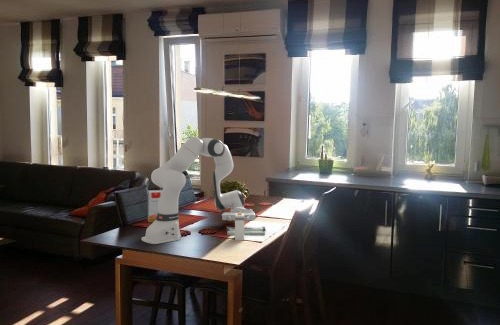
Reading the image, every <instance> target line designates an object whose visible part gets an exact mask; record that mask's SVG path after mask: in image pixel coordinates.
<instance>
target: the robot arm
mask: <svg viewBox="0 0 500 325" xmlns="http://www.w3.org/2000/svg"><path fill="white" fill-rule="evenodd" d="M198 156H205V157H209V158H210V157H211V158H213V159H214V164H215V170H214V171H212V172H213V173H212V180H213V182H212V184H213V192H214V205H215V207H216V209H217V210H219V211H224V212H223V213H222V214H221V219H222V221H234V222H235V213H238V212H241V213H244V221H245V222H248V221H255V220H256V213H255V211H253V209H251V208H245V199H244V196H243V194H242V192H241V191H240V190H237V189H236V190H233V191H228V192H226V193H221V182H222V180H224V178H226V177H228V176H229V175H230V174H231V173H232V171H233V169H234V167H235V166H234V160H233V157H232V153H231V151H230V150H229V147H228V145H227V144H225V143H223V141H221V140H220V139H217V138H210V137H200V138H199V137H198V136H191V137H189V138H188V139H187V140H186V141H185V142H184V143H183V144H182V145H181V146H180V147H179V149H178V150H177V151H176V152H175V154H174V155H173V156H172V157H171V158H170V159H169V160H167V161H166V162H165V163H163V164H162V165H161V166H159V167H158V168H156V169H154V170H153V171H152V172H151V174H150V180H151V182H152V183H153V184H154V185H156V186H157V187H159V188H162V190H163V192H162V195H161V197H160V198H159V200H158V214H157V215H156V214H153V215H152V216H153V218H156V220H155V221H154V222H151V224H150V225H149V226H148V227H147V228H146V229H145V230H146V231H145V236H142V237H141V241H142V242H144V243H147V244H150V245H157V244H163V243H164V244H165V243H170V242H174V241H175V242H177V241H180V240H181V237H182V235H181V234H182V233H181V231H180V223H179V221H180V220H179V219H180V212H179V198H180V193H181V191H182V189H183V188H184V187H185V185H186V184H187V177H186V175H185V174H184V173H183V172H185V171H187V170H189V169H190V167H191V166H192V165H193V164H194V162H195V161H196V159H197V158H198ZM229 208H231V209H230V211H229V212H227V211H225V210H227V209H229Z"/></svg>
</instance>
